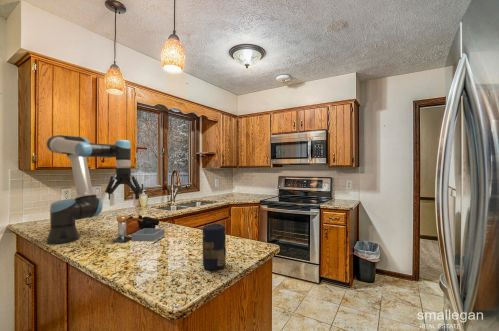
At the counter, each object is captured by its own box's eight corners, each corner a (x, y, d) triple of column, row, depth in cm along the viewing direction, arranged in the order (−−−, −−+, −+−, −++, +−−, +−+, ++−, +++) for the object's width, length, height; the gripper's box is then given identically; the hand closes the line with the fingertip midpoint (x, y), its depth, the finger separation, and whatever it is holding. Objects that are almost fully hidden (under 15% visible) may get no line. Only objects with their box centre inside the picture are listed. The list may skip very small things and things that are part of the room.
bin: (131, 243, 137) (131, 234, 137) (144, 236, 149) (143, 228, 149) (153, 243, 135) (153, 234, 135) (164, 237, 148) (164, 228, 148)
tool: (154, 243, 160) (162, 220, 165) (121, 237, 144) (130, 211, 148) (147, 240, 165) (155, 218, 170) (114, 235, 149) (124, 210, 153)
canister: (204, 263, 107) (203, 221, 107) (226, 261, 108) (225, 220, 108) (201, 272, 98) (201, 226, 98) (225, 271, 98) (225, 225, 98)
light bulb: (114, 241, 136) (114, 217, 136) (120, 238, 141) (120, 215, 141) (123, 241, 135) (123, 217, 135) (129, 238, 141) (129, 215, 141)
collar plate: (108, 245, 134) (107, 240, 134) (119, 239, 144) (119, 235, 144) (125, 245, 133) (125, 241, 133) (135, 240, 143) (135, 235, 143)
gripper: (97, 167, 136) (98, 206, 136) (141, 167, 135) (141, 206, 135) (106, 167, 144) (106, 204, 144) (148, 167, 142) (148, 204, 142)
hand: (123, 205), depth 139 cm, fingers open, 13 cm apart
